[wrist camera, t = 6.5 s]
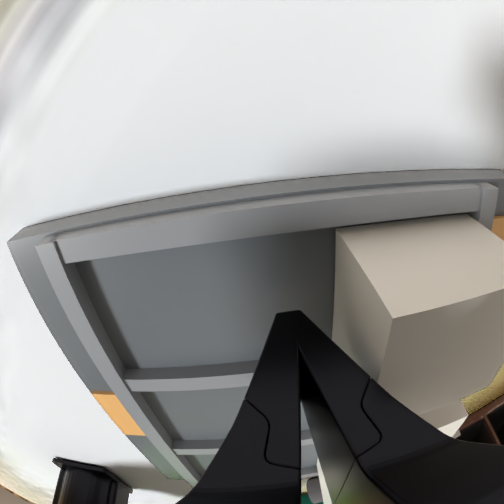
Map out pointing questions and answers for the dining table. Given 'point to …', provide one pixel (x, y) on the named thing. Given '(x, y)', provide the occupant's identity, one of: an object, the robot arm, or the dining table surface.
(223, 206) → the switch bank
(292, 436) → the robot arm
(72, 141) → the dining table surface
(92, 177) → the dining table surface
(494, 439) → the letter holder
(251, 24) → the dining table surface
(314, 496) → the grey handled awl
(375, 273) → the cream square block
